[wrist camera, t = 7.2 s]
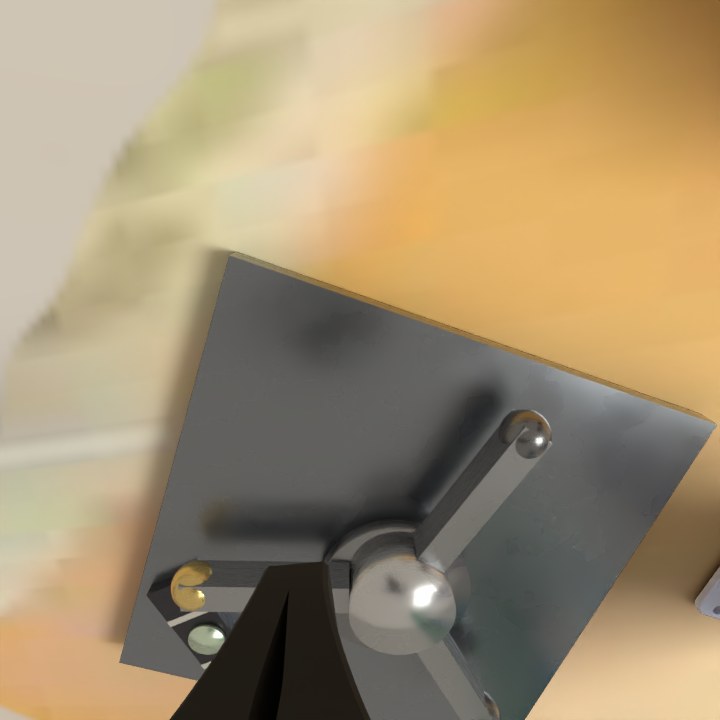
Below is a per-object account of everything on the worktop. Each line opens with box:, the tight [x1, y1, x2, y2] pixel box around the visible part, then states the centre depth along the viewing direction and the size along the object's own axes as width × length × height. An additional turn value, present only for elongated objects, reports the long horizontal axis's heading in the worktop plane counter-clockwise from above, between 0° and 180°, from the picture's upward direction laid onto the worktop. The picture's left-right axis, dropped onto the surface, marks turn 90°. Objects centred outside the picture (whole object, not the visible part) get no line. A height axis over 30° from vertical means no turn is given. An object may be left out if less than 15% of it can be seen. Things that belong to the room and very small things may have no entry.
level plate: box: [119, 252, 717, 720], centre depth 22 cm, size 20×20×2 cm
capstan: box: [171, 409, 553, 720], centre depth 20 cm, size 16×14×3 cm
